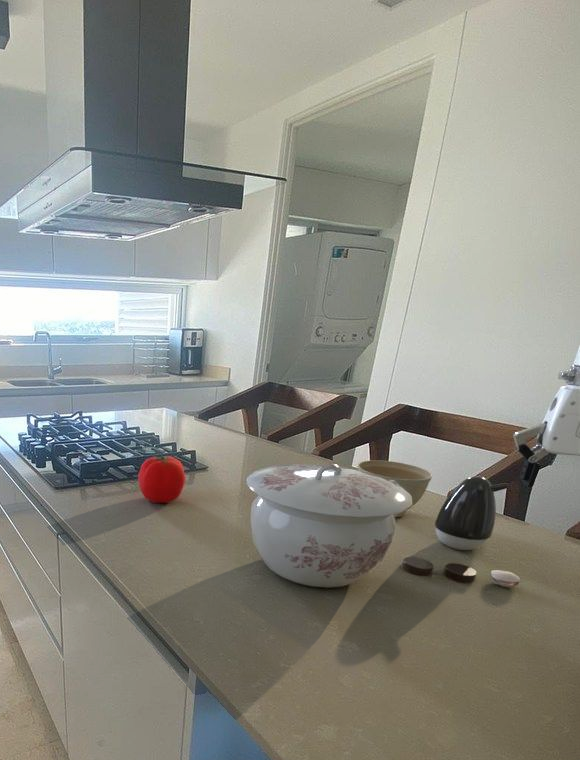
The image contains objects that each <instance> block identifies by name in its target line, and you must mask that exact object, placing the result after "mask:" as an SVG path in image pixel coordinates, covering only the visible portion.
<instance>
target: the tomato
mask: <svg viewBox="0 0 580 760" xmlns="http://www.w3.org/2000/svg"><path fill="white" fill-rule="evenodd" d="M151 456H152V457H148V458H147V459H145V460H144V461H143V463H141V465H140V468H139V472H138V475H137V476H138V477H137V479H138V481H137V482H138V486H139V487H138V488H139V489H140V492H141V494H142V496H143V497H144V498H145V499H146V500H148V501H149V502H152V503H156V504H168V503H169V504H170V503H171V502H173V501H175V500H177V499H178V498H179V497H180V495H181V494H182V492H183V489H184V487H185V484H186V478H187V477H186V475H185V470H184V465H183V464H182V462H181V460H179V459H177V458H175V457H173V456H170V455H166V456H164V455H161V457H160V456H155V455H153V454H151Z"/></svg>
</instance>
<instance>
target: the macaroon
mask: <svg viewBox="0 0 580 760" xmlns="http://www.w3.org/2000/svg"><path fill="white" fill-rule="evenodd" d="M490 579H491V581H492V582H493V583H495V584H496V585H498V586H499V587H503V588H514V587H516V586H518V585H519V582H520V581H521V578H520V577H519V576H518V575H516V574H515V573H513V572H511V571H506V570H499V569H496V570H495V569H492V570H491V571H490Z"/></svg>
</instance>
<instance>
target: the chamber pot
mask: <svg viewBox="0 0 580 760" xmlns="http://www.w3.org/2000/svg"><path fill="white" fill-rule="evenodd" d="M246 483H247V487H248V488H249V489H250V490H252V492H254V493H255V494H256V495H257V496H256V497H255V499H253V502H251V507H250V513H249V517H250V529H251V530H250V531H251V538H252V544H253V545H254V547H255V549H256V551H257V552H258V555H259V557H260V559H261V560H262V562H263V563H264V564H265V565H266V567H268V569H269V570H270V571H271V572H273V573H275V574H276V575H278V576H279V577H281V578H283V579H286V580H288V581H291V582H293V583H296V584H301V585H304V586H307V587H308V586H309V587H317V588H327V589H329V588H340V587H345V586H348V585H351V584H354V583H357V582H358V581H359V580H360V579H362V578H363V577H364V576H365V575H367V574H368V573H369V572H370V571H371V570H372V569H374V568H375V567H376V566H377V565H379V564H380V563H381V562H382V561H383V559H384V557H385V556H386V554H387V552H388V550H389V548H390V546H391V544H392V542H393V538H394V535H395V533H396V518H397V517H396V516H397V515H398V514H399V513H401V512H403V511H404V510H406V509H407V508H409V507H410V506H412V496H411V495H410V494H409V493H408V492H407V491H406V490H405V489H403V488H402V487H401V486H400V484H398V483H397V482H396V481H394V480H389V481H388V480H386V479H383V478H380V477H377V476H374V475H371V474H368V473H365V472H361V471H358V470H355V469H351V468H348V467H347V468H346V467H341V466H340V465H338V464H335V463H327V464H311V463H295V464H294V463H293V464H292V463H291V464H289V463H288V464H281V465H273V466H266V467H263V468H260V469H257V470H254V471H253V472H252V473H251V474H250V475H249V476H248V477H247V478H246ZM412 507H413V506H412ZM409 509H410V508H409ZM406 511H407V510H406Z"/></svg>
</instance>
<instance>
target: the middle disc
mask: <svg viewBox="0 0 580 760" xmlns="http://www.w3.org/2000/svg"><path fill="white" fill-rule="evenodd" d="M442 573H443V575H444V576H445V577H446V578H448V579H449V580H452V581H455V582H458V583H464V584H469V583H473V582H474V581H475V579H476V577H477V570H475V569H474V568H472V567H470V566H468V565H465V564H462V563H455V562H451V563H450V562H449V563H446V564H445V565H444V568H443V571H442Z"/></svg>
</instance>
